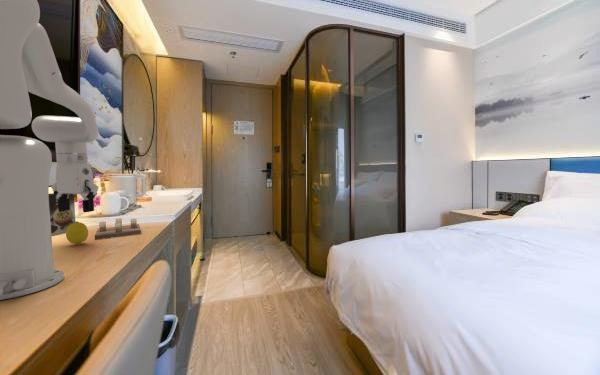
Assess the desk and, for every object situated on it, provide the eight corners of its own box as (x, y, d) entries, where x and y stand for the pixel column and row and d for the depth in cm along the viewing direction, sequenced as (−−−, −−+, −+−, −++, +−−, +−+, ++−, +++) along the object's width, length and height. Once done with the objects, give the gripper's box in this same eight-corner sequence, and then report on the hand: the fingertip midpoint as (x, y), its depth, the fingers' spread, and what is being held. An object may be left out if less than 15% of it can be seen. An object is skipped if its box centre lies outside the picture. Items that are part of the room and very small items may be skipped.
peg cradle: (140, 233, 98) (140, 221, 98) (94, 239, 90) (94, 226, 90) (139, 227, 110) (138, 216, 110) (98, 232, 102) (97, 220, 101)
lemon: (88, 241, 88) (86, 219, 87) (89, 245, 84) (87, 221, 83) (66, 245, 84) (65, 221, 84) (66, 248, 80) (65, 223, 80)
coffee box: (51, 236, 97) (48, 194, 96) (38, 235, 98) (35, 194, 97) (77, 230, 106) (74, 192, 105) (65, 230, 107) (62, 192, 106)
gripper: (105, 159, 85) (109, 210, 86) (63, 159, 88) (67, 208, 89) (82, 159, 77) (87, 214, 79) (37, 159, 80) (42, 212, 82)
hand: (76, 211), depth 84 cm, fingers open, 9 cm apart
